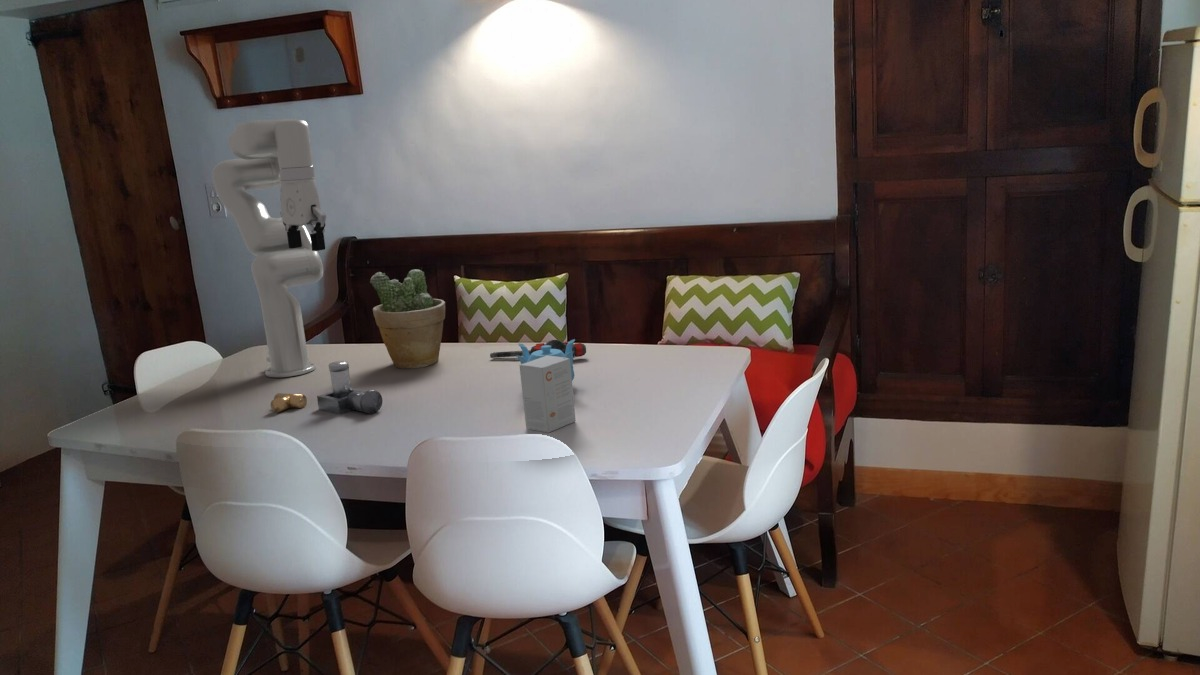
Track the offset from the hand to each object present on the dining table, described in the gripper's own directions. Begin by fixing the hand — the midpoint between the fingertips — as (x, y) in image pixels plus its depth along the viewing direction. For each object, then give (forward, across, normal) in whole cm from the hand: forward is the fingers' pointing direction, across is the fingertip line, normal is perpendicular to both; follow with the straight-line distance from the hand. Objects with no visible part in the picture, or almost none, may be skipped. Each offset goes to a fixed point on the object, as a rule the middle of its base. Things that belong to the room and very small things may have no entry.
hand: (307, 249), depth 218 cm
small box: (+31, +72, +4) cm, 78 cm away
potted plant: (+34, +3, +26) cm, 43 cm away
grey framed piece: (+33, +23, -8) cm, 41 cm away
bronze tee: (+33, +8, -15) cm, 38 cm away
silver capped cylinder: (+33, +20, -8) cm, 39 cm away
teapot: (+32, +54, +23) cm, 67 cm away
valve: (+34, +30, +45) cm, 64 cm away
